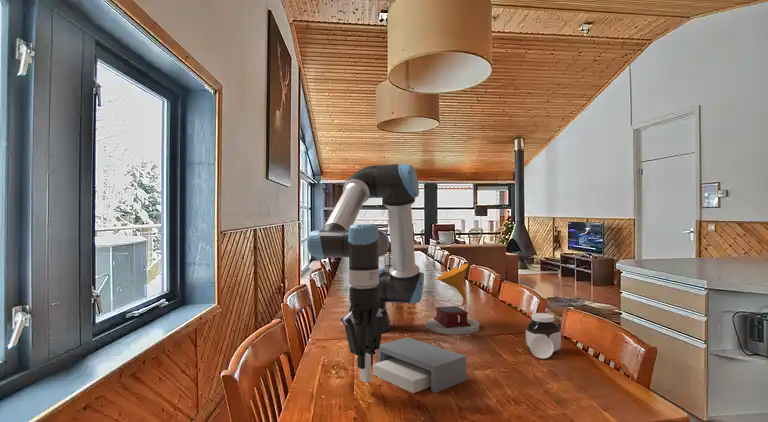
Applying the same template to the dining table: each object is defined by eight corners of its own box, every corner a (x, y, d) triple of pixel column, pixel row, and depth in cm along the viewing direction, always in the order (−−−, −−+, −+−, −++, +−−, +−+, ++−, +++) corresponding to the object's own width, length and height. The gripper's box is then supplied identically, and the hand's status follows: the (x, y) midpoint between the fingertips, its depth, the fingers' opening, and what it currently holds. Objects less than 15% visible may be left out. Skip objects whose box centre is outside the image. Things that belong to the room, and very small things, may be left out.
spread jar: (551, 347, 139) (550, 311, 139) (571, 358, 128) (571, 320, 128) (517, 349, 137) (516, 313, 137) (535, 361, 126) (535, 322, 126)
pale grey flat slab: (373, 375, 116) (373, 364, 116) (399, 366, 122) (399, 356, 123) (413, 393, 104) (413, 381, 104) (440, 382, 110) (440, 371, 110)
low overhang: (377, 367, 122) (376, 345, 122) (407, 358, 129) (407, 337, 129) (435, 392, 104) (435, 366, 104) (466, 380, 112) (466, 355, 112)
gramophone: (466, 319, 177) (465, 260, 177) (488, 332, 157) (487, 265, 157) (420, 322, 173) (419, 262, 173) (436, 336, 153) (436, 267, 153)
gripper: (351, 291, 98) (353, 392, 98) (393, 284, 106) (395, 377, 106) (334, 287, 103) (335, 382, 103) (375, 281, 112) (376, 369, 112)
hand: (365, 380), depth 105 cm, fingers closed
